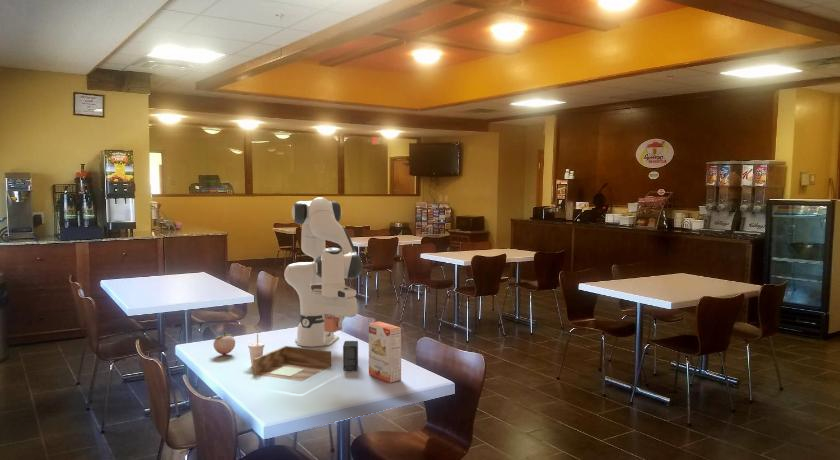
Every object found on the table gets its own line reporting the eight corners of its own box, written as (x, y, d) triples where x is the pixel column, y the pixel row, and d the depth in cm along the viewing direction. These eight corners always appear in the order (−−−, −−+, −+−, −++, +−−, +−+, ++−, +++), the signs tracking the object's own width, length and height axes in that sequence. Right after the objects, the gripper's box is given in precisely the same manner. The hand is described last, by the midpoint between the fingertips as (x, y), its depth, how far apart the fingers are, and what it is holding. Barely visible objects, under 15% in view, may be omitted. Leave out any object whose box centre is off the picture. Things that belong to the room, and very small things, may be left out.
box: (344, 365, 247) (344, 340, 247) (358, 365, 248) (358, 340, 247) (342, 371, 239) (342, 345, 239) (357, 371, 240) (357, 345, 239)
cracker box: (367, 375, 235) (367, 322, 234) (380, 372, 239) (380, 320, 237) (389, 383, 224) (389, 329, 223) (401, 380, 228) (402, 326, 227)
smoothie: (260, 370, 240) (259, 336, 239) (245, 369, 241) (245, 335, 240) (267, 365, 246) (267, 332, 245) (253, 364, 247) (252, 331, 246)
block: (333, 328, 232) (333, 315, 232) (342, 329, 230) (342, 316, 230) (324, 331, 227) (324, 318, 226) (333, 332, 225) (333, 319, 225)
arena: (285, 361, 253) (285, 345, 252) (331, 367, 245) (331, 351, 244) (253, 376, 232) (253, 359, 232) (301, 383, 224) (301, 365, 224)
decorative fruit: (223, 359, 256) (223, 336, 255) (210, 356, 260) (210, 333, 259) (240, 354, 264) (239, 331, 263) (227, 351, 268) (226, 329, 267)
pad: (283, 366, 242) (283, 366, 242) (304, 369, 239) (304, 369, 239) (268, 373, 233) (268, 373, 233) (290, 376, 229) (290, 376, 229)
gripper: (306, 289, 229) (306, 324, 230) (350, 294, 220) (350, 330, 221) (316, 287, 235) (316, 321, 236) (360, 291, 226) (359, 327, 227)
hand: (333, 326), depth 228 cm, fingers closed on block, 4 cm apart
